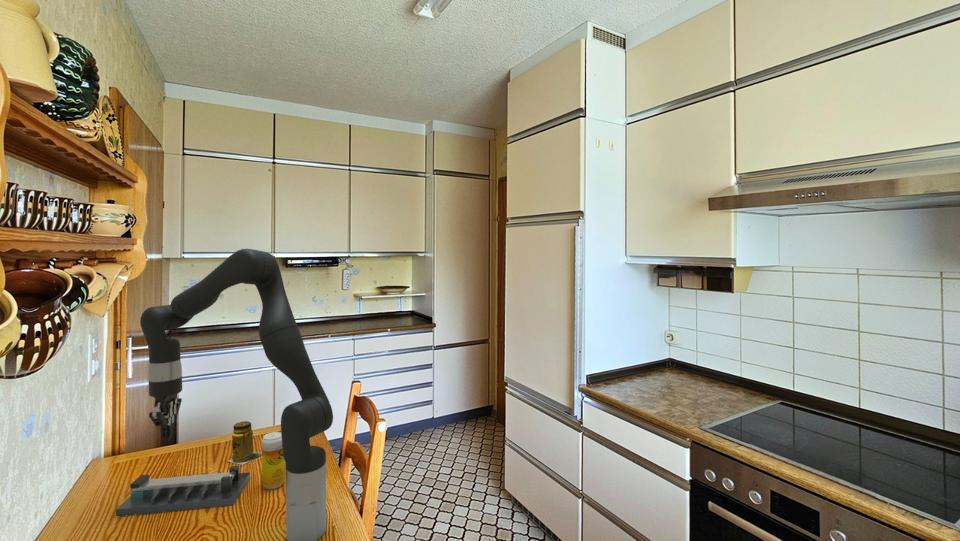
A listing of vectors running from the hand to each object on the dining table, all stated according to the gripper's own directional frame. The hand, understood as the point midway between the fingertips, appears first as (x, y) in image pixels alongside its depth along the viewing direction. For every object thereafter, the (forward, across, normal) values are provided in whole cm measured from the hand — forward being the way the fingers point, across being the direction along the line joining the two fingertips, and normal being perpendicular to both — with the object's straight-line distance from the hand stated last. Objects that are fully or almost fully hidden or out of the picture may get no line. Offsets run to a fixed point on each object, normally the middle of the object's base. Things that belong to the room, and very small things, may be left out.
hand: (167, 438), depth 119 cm
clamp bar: (+14, 0, -4) cm, 14 cm away
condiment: (+18, +22, -13) cm, 31 cm away
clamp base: (+17, 0, -5) cm, 18 cm away
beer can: (+18, +2, -27) cm, 32 cm away
